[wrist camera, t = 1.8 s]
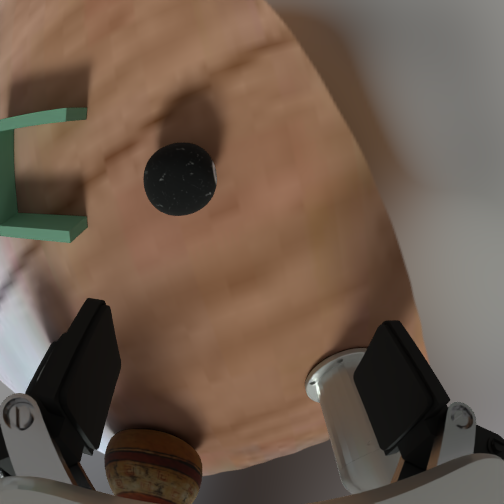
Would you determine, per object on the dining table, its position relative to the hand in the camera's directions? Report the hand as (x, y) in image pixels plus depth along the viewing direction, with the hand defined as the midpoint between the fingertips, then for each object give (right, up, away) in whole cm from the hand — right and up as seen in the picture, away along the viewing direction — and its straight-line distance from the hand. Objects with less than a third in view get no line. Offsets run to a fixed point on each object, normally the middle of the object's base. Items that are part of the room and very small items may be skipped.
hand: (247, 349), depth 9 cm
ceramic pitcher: (-20, -36, +38) cm, 56 cm away
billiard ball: (-6, +11, +16) cm, 20 cm away
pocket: (-22, +12, +14) cm, 28 cm away
